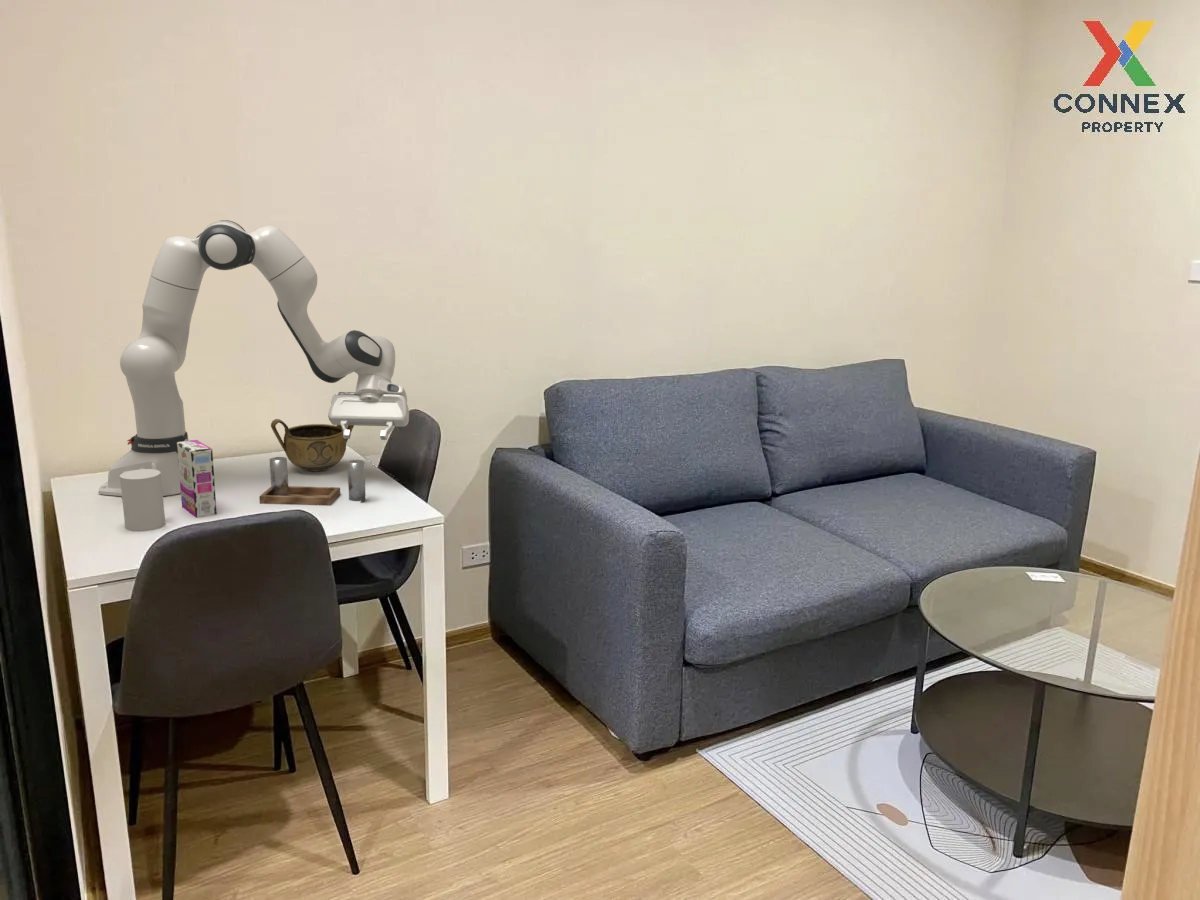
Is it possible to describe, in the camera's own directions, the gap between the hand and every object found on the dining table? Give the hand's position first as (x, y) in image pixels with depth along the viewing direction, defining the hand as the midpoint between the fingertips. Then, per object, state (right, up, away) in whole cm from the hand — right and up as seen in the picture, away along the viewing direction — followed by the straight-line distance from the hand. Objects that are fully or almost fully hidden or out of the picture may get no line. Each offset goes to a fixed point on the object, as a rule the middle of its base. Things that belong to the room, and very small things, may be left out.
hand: (365, 438), depth 237 cm
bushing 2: (0, -16, -6) cm, 17 cm away
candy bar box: (-34, -18, -17) cm, 43 cm away
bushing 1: (-19, -15, -7) cm, 25 cm away
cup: (-43, -20, -27) cm, 54 cm away
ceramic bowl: (-19, -8, +21) cm, 30 cm away
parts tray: (-14, -16, -7) cm, 22 cm away
